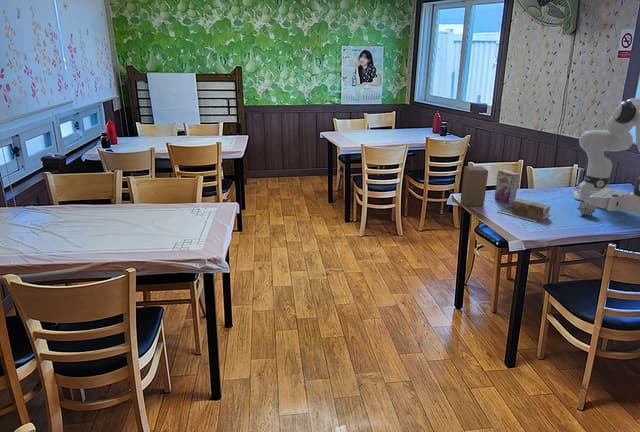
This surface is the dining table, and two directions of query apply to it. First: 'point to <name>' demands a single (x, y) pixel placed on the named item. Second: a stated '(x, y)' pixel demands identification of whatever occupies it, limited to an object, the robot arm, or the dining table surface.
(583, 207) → the cream knobbly lump
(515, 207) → the walnut block
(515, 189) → the candy bar box
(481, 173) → the wooden block
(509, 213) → the grey flat plate
